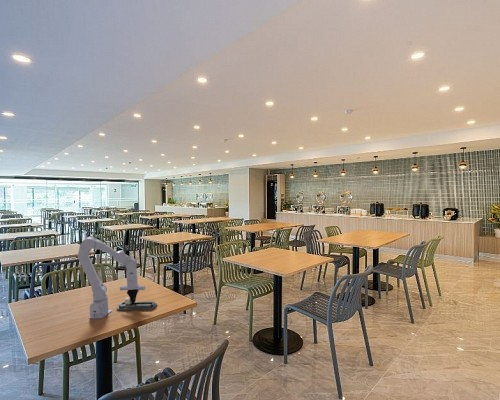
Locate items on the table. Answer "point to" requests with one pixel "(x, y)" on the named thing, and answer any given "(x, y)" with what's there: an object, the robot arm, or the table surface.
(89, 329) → the table surface
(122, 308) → the console
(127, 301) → the fader knob
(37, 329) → the table surface
